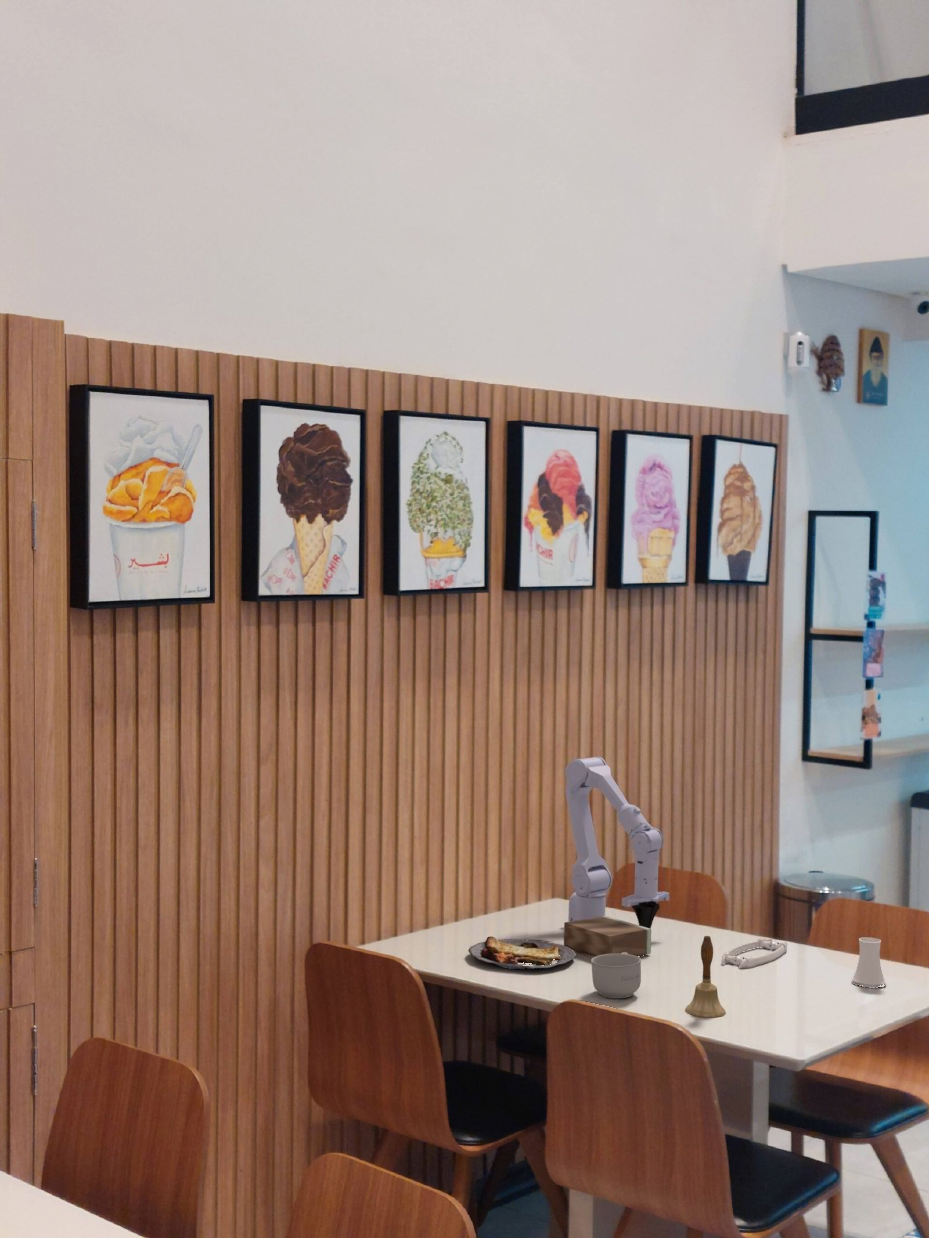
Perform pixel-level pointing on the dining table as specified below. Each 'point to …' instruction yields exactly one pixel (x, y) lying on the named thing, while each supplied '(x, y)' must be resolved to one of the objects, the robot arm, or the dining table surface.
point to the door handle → (751, 962)
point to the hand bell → (706, 988)
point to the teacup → (616, 974)
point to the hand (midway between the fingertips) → (645, 932)
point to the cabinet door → (648, 930)
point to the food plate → (521, 953)
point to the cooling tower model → (869, 964)
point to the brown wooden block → (604, 937)
